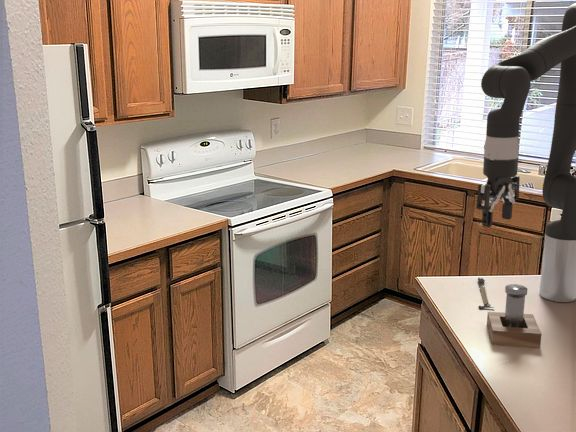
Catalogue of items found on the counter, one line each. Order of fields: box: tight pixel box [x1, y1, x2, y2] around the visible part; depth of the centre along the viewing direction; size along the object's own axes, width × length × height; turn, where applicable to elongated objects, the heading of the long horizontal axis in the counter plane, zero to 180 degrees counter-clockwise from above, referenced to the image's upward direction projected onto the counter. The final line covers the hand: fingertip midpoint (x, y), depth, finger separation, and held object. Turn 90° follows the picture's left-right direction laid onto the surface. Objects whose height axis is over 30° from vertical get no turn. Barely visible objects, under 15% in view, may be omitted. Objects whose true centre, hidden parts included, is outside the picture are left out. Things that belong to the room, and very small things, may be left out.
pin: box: [504, 283, 528, 328], centre depth 142 cm, size 5×5×12 cm
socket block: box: [486, 311, 543, 349], centre depth 143 cm, size 10×10×4 cm
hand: (496, 222), depth 146 cm, fingers open, 8 cm apart
